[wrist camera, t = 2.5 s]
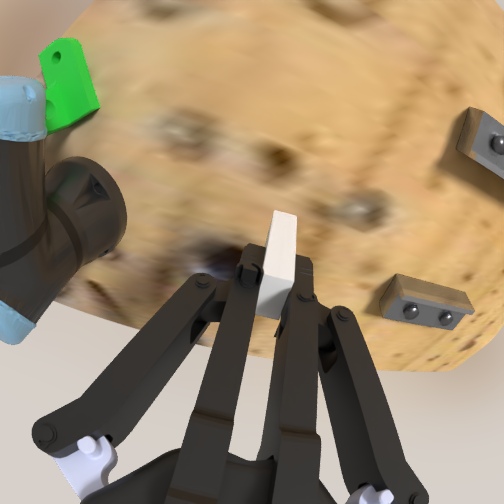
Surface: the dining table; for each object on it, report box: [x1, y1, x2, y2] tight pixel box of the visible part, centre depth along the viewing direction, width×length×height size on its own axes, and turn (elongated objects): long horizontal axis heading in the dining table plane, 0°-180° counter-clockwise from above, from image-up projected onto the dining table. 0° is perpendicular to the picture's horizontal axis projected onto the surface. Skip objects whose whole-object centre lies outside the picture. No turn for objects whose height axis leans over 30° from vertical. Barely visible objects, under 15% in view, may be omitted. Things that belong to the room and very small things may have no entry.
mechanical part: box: [39, 38, 100, 136], centre depth 22 cm, size 12×6×8 cm, turn 16°
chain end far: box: [379, 274, 475, 330], centre depth 34 cm, size 14×6×4 cm, turn 79°
